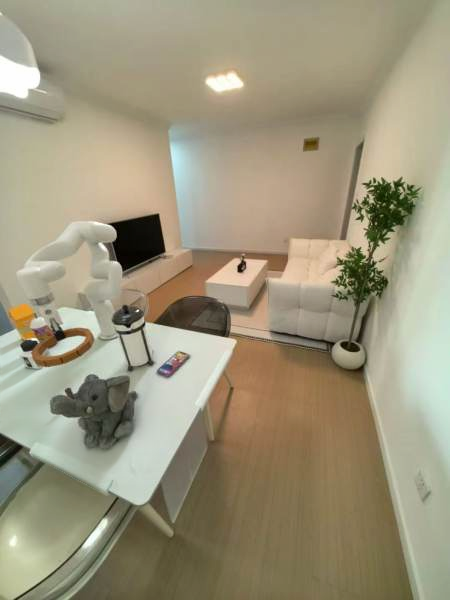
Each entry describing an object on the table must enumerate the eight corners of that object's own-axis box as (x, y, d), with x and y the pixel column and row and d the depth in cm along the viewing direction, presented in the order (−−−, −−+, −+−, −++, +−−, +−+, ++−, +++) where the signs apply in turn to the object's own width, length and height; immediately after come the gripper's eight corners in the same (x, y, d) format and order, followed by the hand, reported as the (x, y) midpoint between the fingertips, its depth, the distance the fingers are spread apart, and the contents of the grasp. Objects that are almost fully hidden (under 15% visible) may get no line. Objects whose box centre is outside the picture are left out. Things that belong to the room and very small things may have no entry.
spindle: (77, 394, 92) (72, 383, 89) (80, 400, 89) (74, 389, 86) (66, 400, 89) (60, 389, 87) (68, 406, 87) (62, 395, 84)
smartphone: (156, 372, 100) (178, 352, 112) (169, 377, 97) (190, 356, 108) (156, 370, 100) (178, 350, 111) (168, 375, 96) (190, 354, 108)
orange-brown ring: (86, 328, 103) (84, 322, 101) (100, 347, 89) (98, 341, 88) (32, 349, 91) (28, 343, 90) (39, 375, 78) (35, 368, 76)
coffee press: (164, 354, 111) (152, 299, 98) (139, 376, 99) (121, 316, 85) (139, 345, 119) (124, 293, 106) (113, 364, 106) (93, 308, 93)
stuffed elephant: (82, 471, 66) (43, 407, 54) (82, 416, 83) (53, 357, 71) (148, 437, 74) (128, 375, 62) (136, 393, 91) (118, 337, 79)
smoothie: (39, 351, 119) (22, 319, 110) (42, 343, 126) (26, 312, 117) (58, 346, 122) (42, 314, 113) (60, 338, 129) (45, 307, 120)
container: (39, 369, 107) (26, 347, 101) (26, 367, 108) (13, 345, 102) (53, 358, 113) (42, 336, 108) (40, 356, 115) (29, 335, 109)
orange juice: (21, 338, 131) (4, 308, 122) (39, 330, 138) (24, 301, 129) (27, 342, 127) (10, 311, 118) (45, 334, 134) (30, 304, 125)
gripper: (57, 302, 84) (75, 341, 93) (50, 290, 95) (67, 326, 104) (32, 309, 80) (54, 350, 89) (28, 296, 91) (47, 334, 99)
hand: (60, 337), depth 96 cm, fingers closed on orange-brown ring, 2 cm apart
